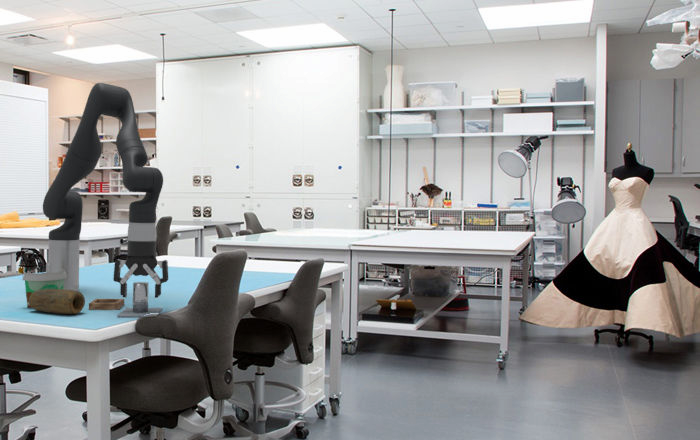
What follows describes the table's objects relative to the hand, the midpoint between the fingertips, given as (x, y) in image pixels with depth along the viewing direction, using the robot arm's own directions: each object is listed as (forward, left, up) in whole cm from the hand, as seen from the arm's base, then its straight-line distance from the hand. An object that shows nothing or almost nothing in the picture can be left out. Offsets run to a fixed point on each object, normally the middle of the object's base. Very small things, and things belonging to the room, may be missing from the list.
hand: (140, 297), depth 170 cm
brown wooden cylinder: (-22, +1, -5) cm, 23 cm away
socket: (-11, +9, -4) cm, 15 cm away
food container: (-27, +10, -5) cm, 29 cm away
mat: (0, 0, -4) cm, 4 cm away
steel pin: (0, 0, -4) cm, 4 cm away
